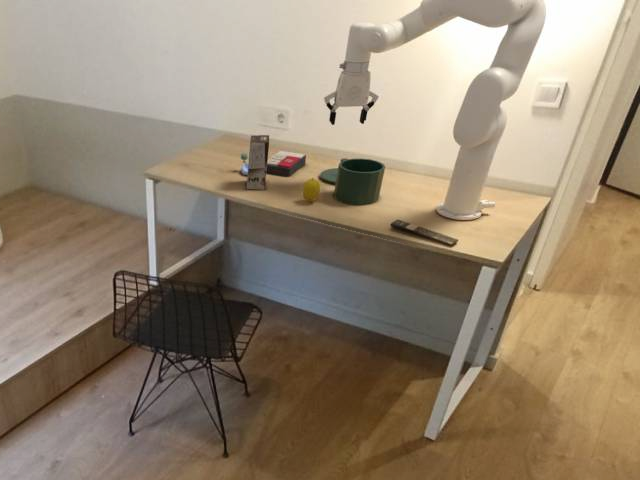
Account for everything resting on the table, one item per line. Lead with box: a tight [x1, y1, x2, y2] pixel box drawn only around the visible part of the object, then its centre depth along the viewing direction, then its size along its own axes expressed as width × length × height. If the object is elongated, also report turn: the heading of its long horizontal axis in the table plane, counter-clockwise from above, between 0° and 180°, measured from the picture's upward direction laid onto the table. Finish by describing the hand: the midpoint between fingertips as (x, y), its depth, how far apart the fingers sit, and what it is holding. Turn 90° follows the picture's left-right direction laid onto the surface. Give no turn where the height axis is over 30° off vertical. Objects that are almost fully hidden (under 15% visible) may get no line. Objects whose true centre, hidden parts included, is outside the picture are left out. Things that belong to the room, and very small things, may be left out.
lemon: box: [302, 177, 321, 203], centre depth 202 cm, size 6×6×8 cm
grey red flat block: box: [266, 150, 307, 177], centre depth 231 cm, size 11×4×15 cm
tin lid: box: [319, 158, 349, 184], centre depth 219 cm, size 15×15×7 cm
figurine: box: [240, 152, 249, 176], centre depth 228 cm, size 8×7×7 cm
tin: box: [333, 157, 386, 206], centre depth 204 cm, size 14×14×10 cm
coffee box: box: [246, 134, 270, 191], centre depth 215 cm, size 9×6×16 cm
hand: (346, 123), depth 207 cm, fingers open, 9 cm apart
